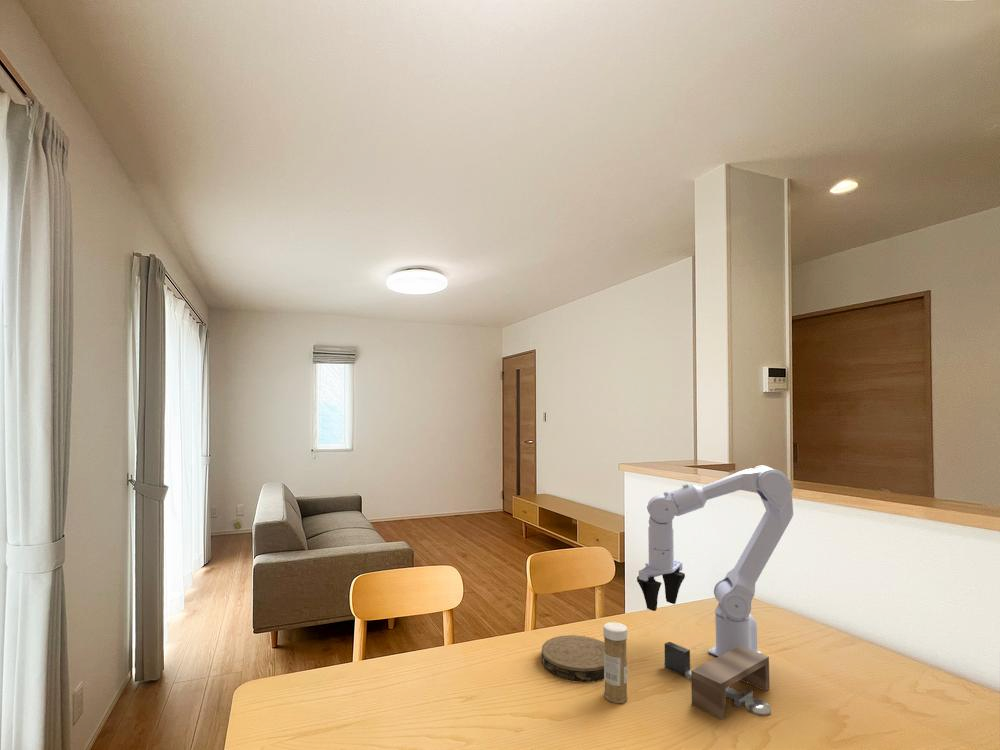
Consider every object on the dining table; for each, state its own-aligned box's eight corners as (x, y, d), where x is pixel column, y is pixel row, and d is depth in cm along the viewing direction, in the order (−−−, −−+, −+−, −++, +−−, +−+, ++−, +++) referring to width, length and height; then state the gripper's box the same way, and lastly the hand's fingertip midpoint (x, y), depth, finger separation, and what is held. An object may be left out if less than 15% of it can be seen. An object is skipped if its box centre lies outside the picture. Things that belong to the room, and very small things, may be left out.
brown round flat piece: (592, 644, 123) (592, 631, 123) (629, 677, 108) (629, 662, 108) (530, 653, 118) (530, 640, 118) (560, 689, 103) (560, 673, 103)
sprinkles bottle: (632, 699, 99) (632, 627, 100) (615, 707, 96) (615, 632, 97) (615, 689, 102) (614, 619, 103) (598, 695, 100) (598, 624, 101)
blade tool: (660, 669, 111) (660, 645, 111) (674, 663, 114) (673, 639, 114) (739, 707, 97) (738, 679, 97) (752, 698, 100) (752, 672, 100)
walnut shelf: (740, 676, 108) (739, 645, 109) (769, 688, 103) (768, 656, 104) (691, 704, 97) (691, 670, 98) (721, 719, 93) (720, 683, 93)
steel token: (752, 701, 99) (752, 695, 99) (775, 712, 96) (775, 706, 96) (740, 708, 97) (740, 703, 97) (763, 720, 93) (763, 714, 93)
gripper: (664, 539, 131) (665, 594, 130) (628, 548, 122) (628, 607, 121) (689, 545, 125) (690, 603, 124) (653, 555, 116) (653, 617, 115)
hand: (661, 606), depth 122 cm, fingers open, 7 cm apart
